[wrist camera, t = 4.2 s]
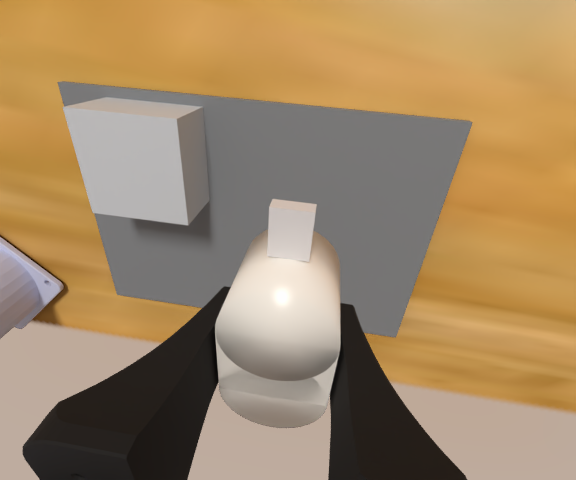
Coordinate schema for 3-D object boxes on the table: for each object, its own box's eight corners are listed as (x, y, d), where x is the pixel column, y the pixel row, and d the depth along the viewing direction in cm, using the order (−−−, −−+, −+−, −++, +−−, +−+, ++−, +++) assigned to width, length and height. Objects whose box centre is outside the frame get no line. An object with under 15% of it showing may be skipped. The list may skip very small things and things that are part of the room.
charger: (126, 190, 19) (92, 212, 16) (106, 97, 16) (62, 106, 14) (209, 200, 18) (188, 225, 16) (203, 106, 16) (176, 118, 13)
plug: (320, 372, 17) (315, 455, 13) (245, 360, 17) (222, 438, 14) (355, 188, 11) (363, 249, 8) (245, 175, 12) (207, 229, 8)
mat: (120, 291, 24) (117, 294, 23) (63, 81, 16) (57, 82, 16) (395, 332, 22) (395, 337, 22) (469, 120, 15) (472, 122, 14)
